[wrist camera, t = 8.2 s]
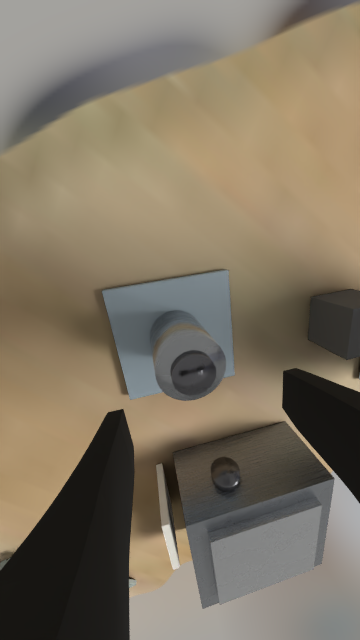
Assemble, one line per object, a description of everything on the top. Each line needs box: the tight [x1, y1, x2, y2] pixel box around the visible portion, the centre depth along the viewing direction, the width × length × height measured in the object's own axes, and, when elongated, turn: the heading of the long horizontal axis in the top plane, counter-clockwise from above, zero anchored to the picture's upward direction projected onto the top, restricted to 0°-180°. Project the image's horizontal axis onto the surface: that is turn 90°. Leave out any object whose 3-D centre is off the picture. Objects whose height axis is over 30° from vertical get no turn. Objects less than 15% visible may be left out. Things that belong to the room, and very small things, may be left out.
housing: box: [173, 421, 334, 609], centre depth 21 cm, size 12×13×7 cm
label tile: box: [156, 463, 180, 570], centre depth 20 cm, size 1×6×5 cm, turn 8°
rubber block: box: [308, 289, 360, 360], centre depth 18 cm, size 4×4×4 cm
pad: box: [102, 270, 235, 400], centre depth 17 cm, size 9×9×1 cm
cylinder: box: [150, 310, 226, 401], centre depth 14 cm, size 4×4×6 cm
